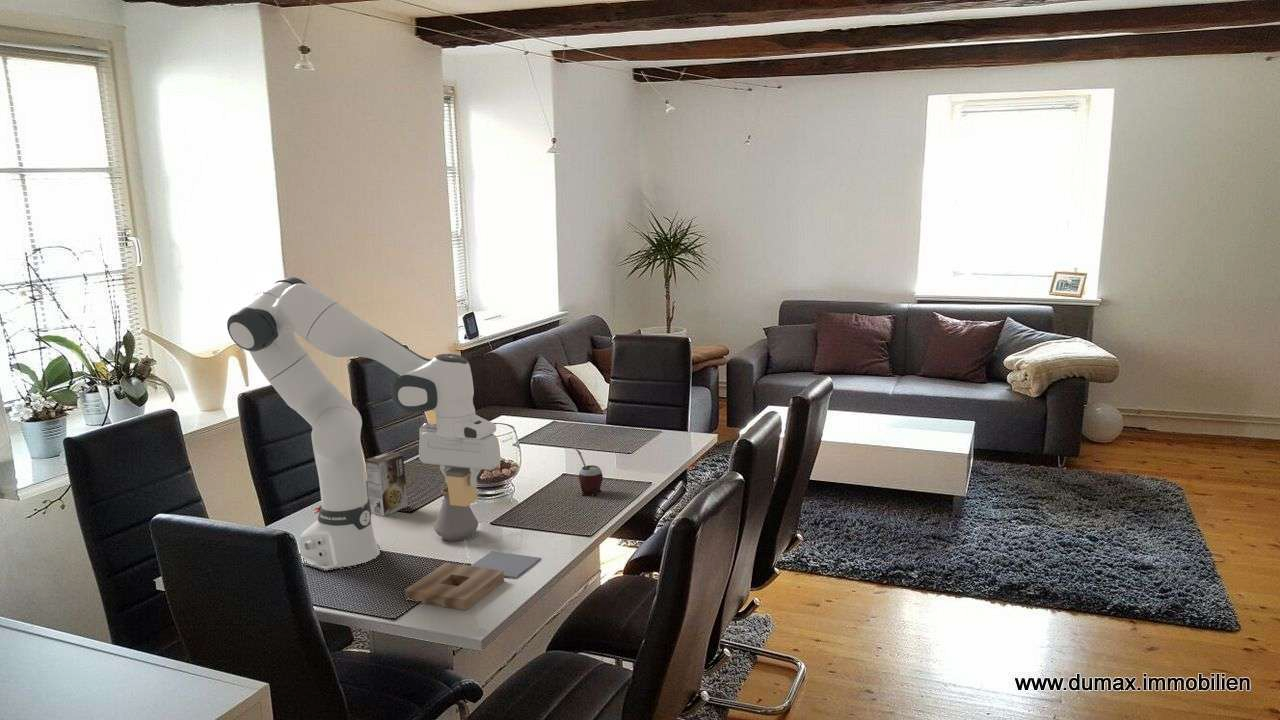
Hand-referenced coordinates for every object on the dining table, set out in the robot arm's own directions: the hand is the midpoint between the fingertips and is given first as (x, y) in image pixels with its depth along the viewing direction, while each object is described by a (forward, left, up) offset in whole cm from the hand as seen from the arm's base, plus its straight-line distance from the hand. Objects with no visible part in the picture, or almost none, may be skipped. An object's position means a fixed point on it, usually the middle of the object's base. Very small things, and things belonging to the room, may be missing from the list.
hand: (461, 484), depth 211 cm
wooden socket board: (-1, -4, -24) cm, 25 cm away
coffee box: (-51, +36, -25) cm, 67 cm away
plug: (0, 0, -4) cm, 4 cm away
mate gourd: (-1, +66, -25) cm, 70 cm away
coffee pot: (-20, +30, -25) cm, 43 cm away
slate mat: (+2, +12, -24) cm, 27 cm away
